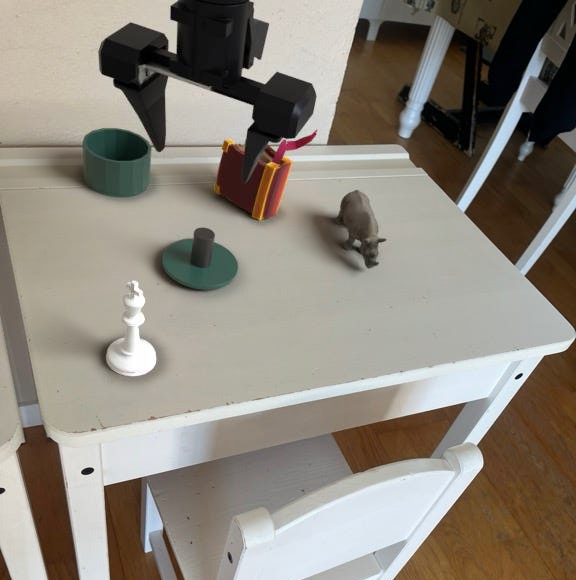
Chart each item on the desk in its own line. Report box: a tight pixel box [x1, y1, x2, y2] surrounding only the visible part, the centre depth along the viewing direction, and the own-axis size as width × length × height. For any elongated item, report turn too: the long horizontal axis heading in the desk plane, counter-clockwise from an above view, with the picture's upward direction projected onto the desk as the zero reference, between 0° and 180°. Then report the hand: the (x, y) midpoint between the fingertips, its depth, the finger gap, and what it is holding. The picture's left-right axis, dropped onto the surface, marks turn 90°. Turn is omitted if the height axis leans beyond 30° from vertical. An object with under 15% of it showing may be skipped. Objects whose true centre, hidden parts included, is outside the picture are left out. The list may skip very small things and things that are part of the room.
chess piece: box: [105, 279, 157, 377], centre depth 59 cm, size 5×5×10 cm
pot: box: [82, 127, 153, 198], centre depth 81 cm, size 8×8×5 cm
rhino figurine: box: [334, 189, 388, 269], centre depth 82 cm, size 4×14×6 cm, turn 11°
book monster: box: [213, 129, 319, 221], centre depth 84 cm, size 11×9×12 cm
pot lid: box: [161, 227, 239, 291], centre depth 73 cm, size 9×9×5 cm
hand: (202, 165), depth 61 cm, fingers open, 9 cm apart
